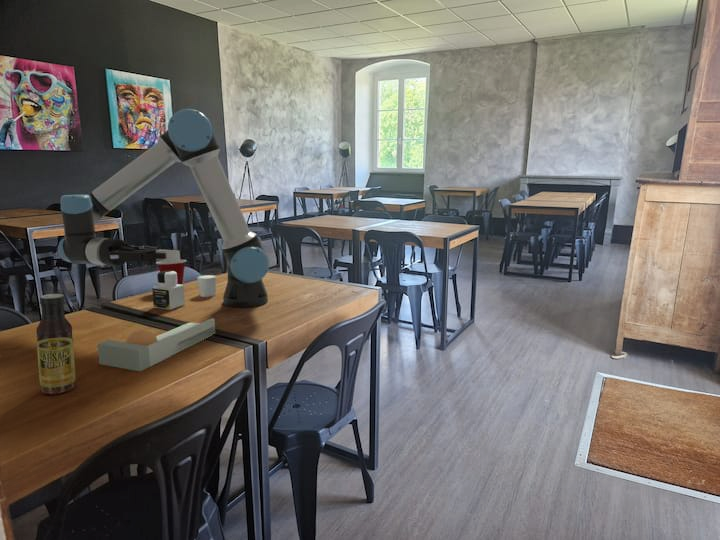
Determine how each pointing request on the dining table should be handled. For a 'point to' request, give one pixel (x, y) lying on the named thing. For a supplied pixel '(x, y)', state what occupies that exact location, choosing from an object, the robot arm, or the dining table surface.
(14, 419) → the dining table surface
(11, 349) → the dining table surface
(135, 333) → the ball
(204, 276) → the white tapered cup
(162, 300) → the medicine bottle
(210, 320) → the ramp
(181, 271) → the plastic cup
